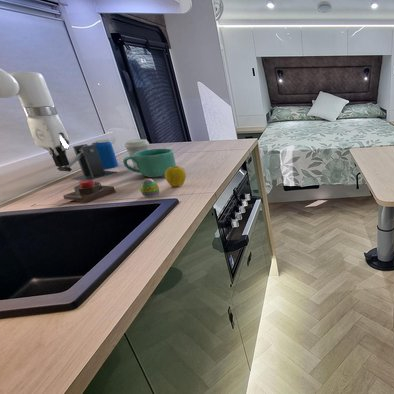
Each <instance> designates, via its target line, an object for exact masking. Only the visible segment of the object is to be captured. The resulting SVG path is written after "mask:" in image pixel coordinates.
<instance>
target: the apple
mask: <svg viewBox="0 0 394 394" xmlns="http://www.w3.org/2000/svg"><path fill="white" fill-rule="evenodd" d="M164 178H165V180H166V182H167V184H169V185H170V186H171V187H181V186H183V185H184V183H185V181H186V178H187V173H186V171H185V169H184V168H183V167H182V166H179V165H176V166H172V167H169V168H167V169H166V171H165V176H164Z"/></svg>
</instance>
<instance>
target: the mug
mask: <svg viewBox="0 0 394 394" xmlns="http://www.w3.org/2000/svg"><path fill="white" fill-rule="evenodd" d="M134 156H135V157H132V156H130V155H128V156H126V157H124V158H123V161H122V163H123V165H124V167H125V168H126V169H127V170H129V171H131V172H133V173H137V174H141V175H142V176H145V177H148V178H150V179H159V178H165V171H166V169H167V168H169V167H172V166H177V165H176V164H177V163H176V159H175V155H174V151H173V150H172V149H171V148H151V149H149V150H145V151H140V152H137V153H135V154H134ZM129 160H131V161H132V160H134V161H135V162H136V163H137V167H138V168H135V167H132V166H130V165H129V163H128V161H129Z"/></svg>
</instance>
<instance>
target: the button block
mask: <svg viewBox="0 0 394 394" xmlns="http://www.w3.org/2000/svg"><path fill="white" fill-rule="evenodd" d="M94 184H95V185H94V186H91V187H86V188H80V186H79V184H77V185H76V186H74V187H73V190H74V191H72V192H69V193H66V194H63V195H62V196H63V199H64V200H70V201H68V203H74V204H75V203H76V204H84V205H85V204H88V203H90V202H93V201H96V200H98V199H101V198H104V197H108V196H110V195H112V194H115V193H116V192H117V191H116V189H115V186H112V185H103V184H102V183H101V182H99V181H94Z"/></svg>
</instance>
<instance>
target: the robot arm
mask: <svg viewBox="0 0 394 394" xmlns="http://www.w3.org/2000/svg"><path fill="white" fill-rule="evenodd" d="M15 96H17V98H18V100H19V102H20V104H21V107H22V109H23V111H24V114H25V116H26V121H27V126H28V129H29V132H30V134H31V137H32V140H33V143H34V144H35V146H36V147H39V148H42V149H44V150H46V151H48V153H49V155H50V156H51V157H52V160H53V163H54V165H55V167H57V168H58V167H64V166H66V165H69V162H70V161H69V159H68V156H67V151H68V150H69V149H70V147H69V145H70V144H71V141H70V138H69V135H68V133H67V131H66V128H65V126H64V124H63V122H62V120H61V118H60V117H59V112H58V111H57V107H56V105H55V102H54V101H53V100H54V99H53V98H52V95H51V93H50V90H49V88H48V85H47V82H46V79H45V78H44V76H43V74H42V73H40V72H37V71H13V72H7V71H5V70H4V69H2V68H0V99H8V98H13V97H15Z"/></svg>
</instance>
